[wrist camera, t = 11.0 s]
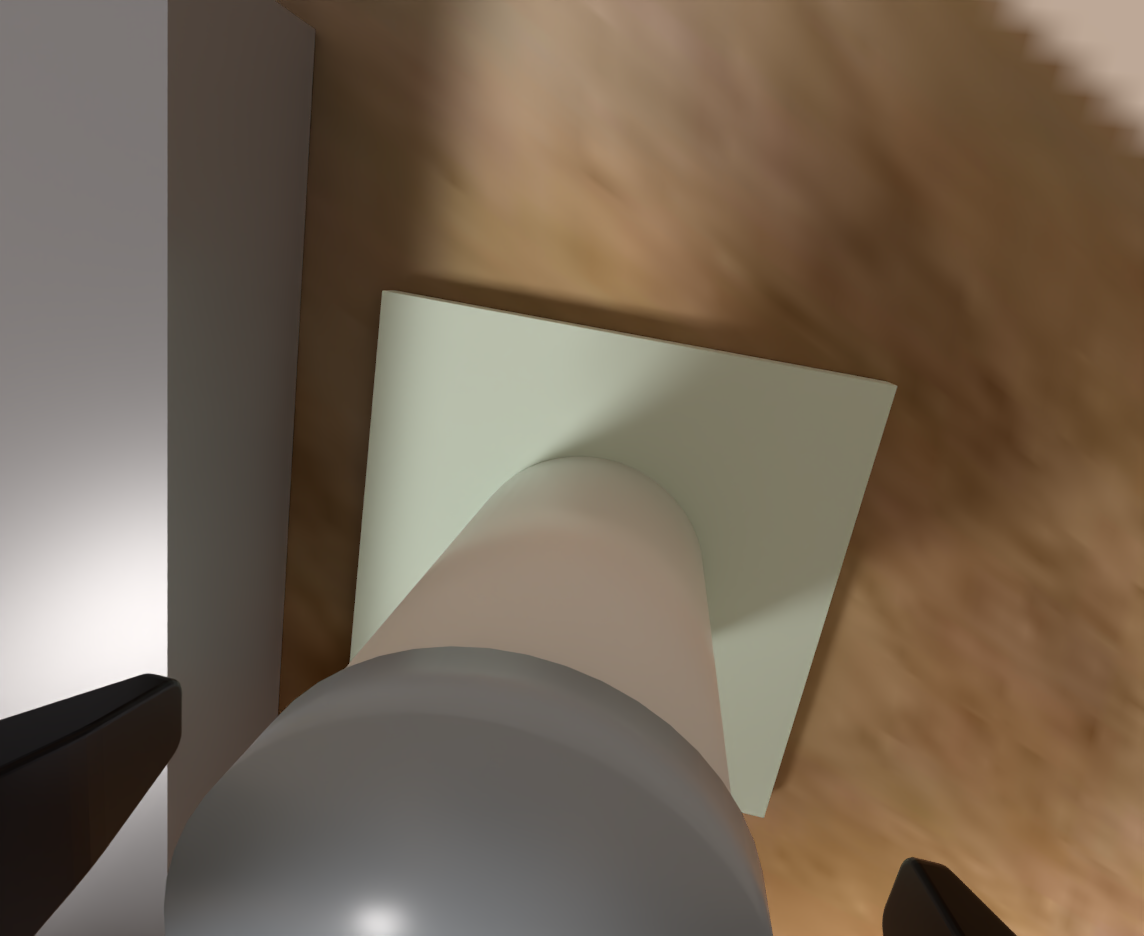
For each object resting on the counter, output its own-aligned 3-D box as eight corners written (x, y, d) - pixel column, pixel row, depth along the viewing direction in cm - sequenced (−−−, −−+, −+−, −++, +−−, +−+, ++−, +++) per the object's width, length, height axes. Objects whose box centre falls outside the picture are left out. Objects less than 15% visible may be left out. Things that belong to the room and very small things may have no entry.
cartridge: (681, 709, 15) (700, 1281, 6) (444, 653, 15) (161, 1117, 7) (740, 476, 13) (868, 810, 5) (476, 422, 14) (165, 642, 5)
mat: (760, 798, 16) (764, 818, 15) (355, 702, 17) (344, 716, 16) (887, 381, 13) (897, 385, 13) (394, 290, 14) (382, 290, 13)
